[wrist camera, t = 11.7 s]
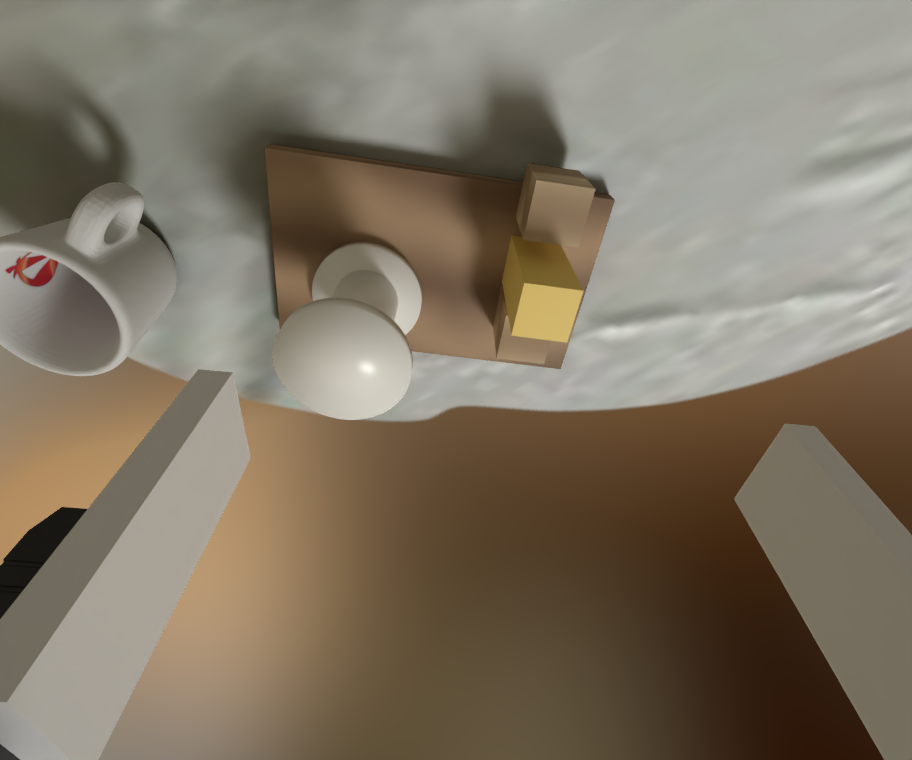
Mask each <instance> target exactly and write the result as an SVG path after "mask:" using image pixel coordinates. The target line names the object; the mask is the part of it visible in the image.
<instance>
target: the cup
mask: <svg viewBox="0 0 912 760" xmlns="http://www.w3.org/2000/svg"><path fill="white" fill-rule="evenodd" d="M143 210H144V198H143V196H142V195H141V194H140V193H139V192H138V191H136V190H135V189H133V188H132V187H130V186H128V185H126V184H123V183H118V182H112V183H107V184H104V185H101V186H99V187H97V188H95V189H94V190H92V191H91V192H89V193H88V194H87V195H86V196H85V197H84V198H83V199H82V200H81V201H80V203H79V204H78V205H77V207H76V209H75V211H74V213H73V214H72V216H71V218H68V219H64V220H60V221H57V222H53V223H50V224H46V225H42V226H39V227H35V228H32V229H28V230H24V231H21V232H17V233H14V234H10V235H6V236H3V237H0V345H2V346H3V347H5V348H6V349H7V350H9V351H10V352H11V353H13V354H15V355H16V356H18V357H19V358H21V359H23V360H25V361H27V362H29V363H31V364H33V365H35V366H38V367H40V368H43V369H46V370H48V371H52V372H56V373H60V374H65V375H72V376H91V375H97V374H101V373H104V372H107V371H109V370H111V369H113V368H115V367H117V366H118V365H119V364H120V363H122V362H123V361H124V359H125V358H126V357H127V356H128V355H129V353H130V352H131V351H132V350H133V348H134V347H135V346H136V344H137V343H138V342H139V341H140V339H141V338H142V337H143V336H144V334H145V333H146V332H147V330H148V329H149V328H150V327H151V325H152V324H153V323H154V322H155V320H156V319H157V318H158V316H159V315H160V314H161V313H162V311H163V310H164V309H165V308H166V306H167V305H168V303H169V302H170V301H171V299H172V297H173V295H174V293H175V290H176V286H177V269H176V265H175V262H174V259H173V257H172V255H171V253H170V251H169V250H168V248H167V247H166V245H165V244H164V243H163V242H162V240H161V239H160V238H159V237H158V236H157V235H156V234H155V233H153V232H152V231H151V230H150V229H148V228H147V227H146V226H144V225H142V224H141V223H139V222H140V220H141V217H142V213H143Z"/></svg>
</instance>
